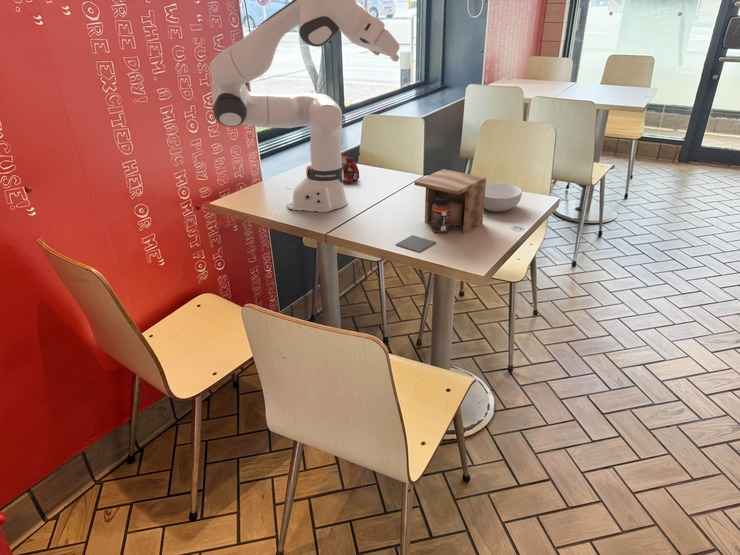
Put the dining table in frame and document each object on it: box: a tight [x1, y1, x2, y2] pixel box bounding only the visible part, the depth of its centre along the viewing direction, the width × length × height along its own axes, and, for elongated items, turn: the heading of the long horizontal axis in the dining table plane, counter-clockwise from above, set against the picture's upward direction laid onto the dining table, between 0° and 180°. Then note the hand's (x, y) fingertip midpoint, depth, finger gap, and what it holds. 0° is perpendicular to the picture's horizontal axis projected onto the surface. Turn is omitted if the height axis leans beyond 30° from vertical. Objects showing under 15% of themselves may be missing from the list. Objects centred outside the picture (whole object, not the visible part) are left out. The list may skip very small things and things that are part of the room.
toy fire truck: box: [341, 155, 360, 184], centre depth 228 cm, size 7×12×10 cm, turn 51°
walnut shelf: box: [414, 168, 487, 234], centre depth 179 cm, size 17×16×16 cm
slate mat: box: [395, 234, 437, 253], centre depth 170 cm, size 9×9×1 cm
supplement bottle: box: [430, 196, 450, 234], centre depth 177 cm, size 6×6×11 cm
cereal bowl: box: [484, 182, 523, 213], centre depth 196 cm, size 17×17×7 cm
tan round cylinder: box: [448, 201, 463, 226], centre depth 184 cm, size 5×5×7 cm
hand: (387, 56), depth 163 cm, fingers open, 8 cm apart
